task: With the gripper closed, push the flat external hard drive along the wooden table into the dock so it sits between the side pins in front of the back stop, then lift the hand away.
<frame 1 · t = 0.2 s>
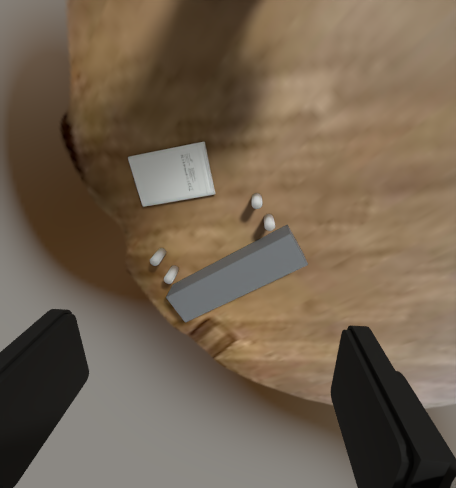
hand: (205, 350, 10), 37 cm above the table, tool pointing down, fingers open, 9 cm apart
external hard drive: (174, 174, 45), on the table
dock: (219, 245, 48), on the table
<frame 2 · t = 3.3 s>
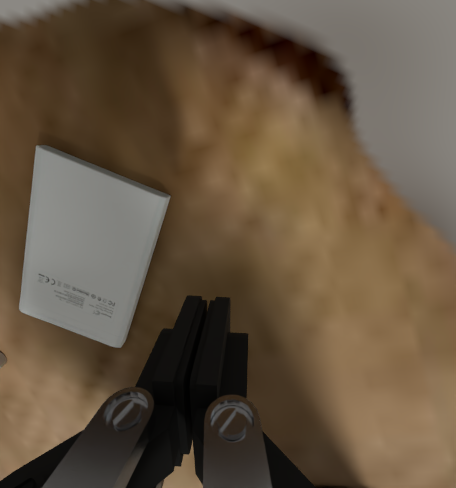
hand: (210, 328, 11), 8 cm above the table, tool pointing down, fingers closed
external hard drive: (96, 251, 20), on the table
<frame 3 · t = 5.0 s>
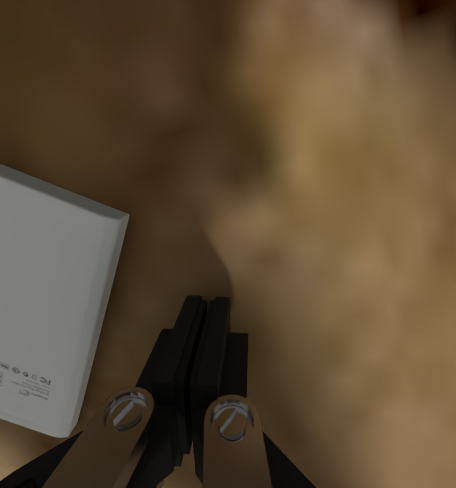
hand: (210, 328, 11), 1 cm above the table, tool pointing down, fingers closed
external hard drive: (23, 296, 13), on the table
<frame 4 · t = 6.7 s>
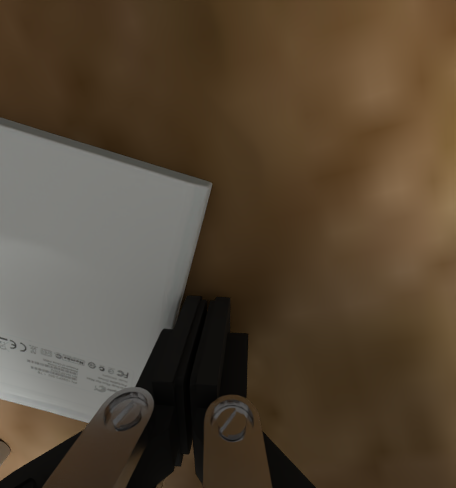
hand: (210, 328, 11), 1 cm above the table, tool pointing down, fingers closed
external hard drive: (90, 288, 12), on the table
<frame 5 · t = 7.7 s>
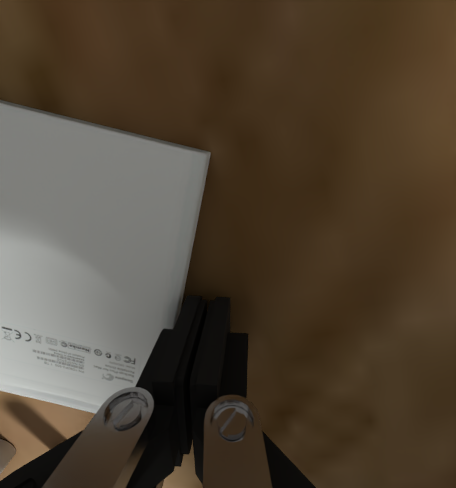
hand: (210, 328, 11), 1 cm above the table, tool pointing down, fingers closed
external hard drive: (93, 275, 12), on the table
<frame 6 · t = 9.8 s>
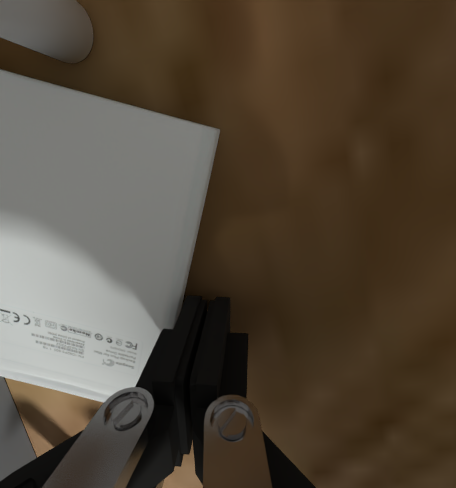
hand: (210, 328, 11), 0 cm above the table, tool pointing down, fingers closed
external hard drive: (94, 258, 11), on the table, touching gripper
dock: (28, 309, 12), on the table
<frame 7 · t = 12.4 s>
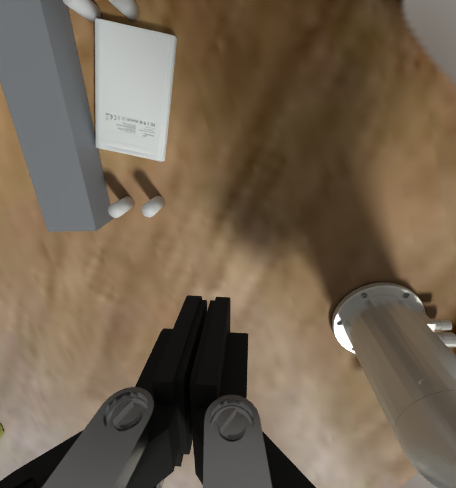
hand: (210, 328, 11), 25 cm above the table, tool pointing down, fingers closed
external hard drive: (137, 97, 31), on the table
dock: (112, 119, 31), on the table
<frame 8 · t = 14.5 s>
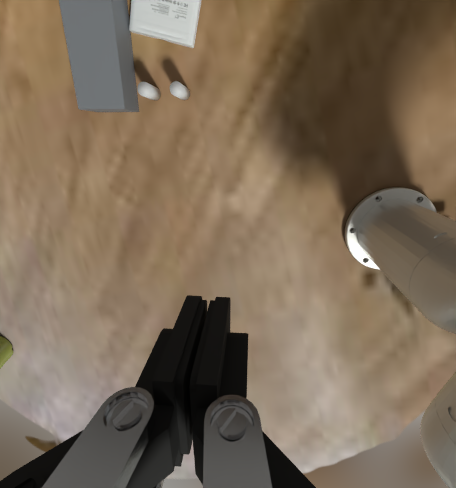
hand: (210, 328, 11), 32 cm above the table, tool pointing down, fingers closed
plant pot: (0, 344, 57), on the table
dock: (147, 2, 33), on the table
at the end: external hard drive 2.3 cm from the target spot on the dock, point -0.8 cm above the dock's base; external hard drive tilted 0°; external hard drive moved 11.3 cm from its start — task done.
